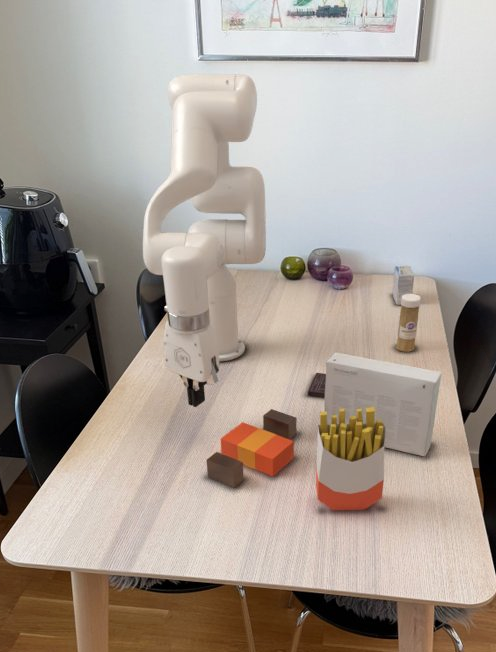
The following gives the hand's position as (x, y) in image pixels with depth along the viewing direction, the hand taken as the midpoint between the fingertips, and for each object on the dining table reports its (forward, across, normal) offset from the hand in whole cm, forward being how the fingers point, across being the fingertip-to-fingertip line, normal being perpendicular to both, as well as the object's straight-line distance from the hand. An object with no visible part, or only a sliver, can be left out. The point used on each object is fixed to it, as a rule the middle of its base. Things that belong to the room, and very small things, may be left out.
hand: (196, 402), depth 131 cm
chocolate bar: (+7, +18, +31) cm, 37 cm away
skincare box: (+7, +31, +17) cm, 36 cm away
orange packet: (+6, +15, -1) cm, 17 cm away
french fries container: (+6, +36, -4) cm, 37 cm away
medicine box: (+10, +6, +85) cm, 86 cm away
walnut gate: (+6, +14, -1) cm, 16 cm away
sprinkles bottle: (+8, +19, +57) cm, 61 cm away
